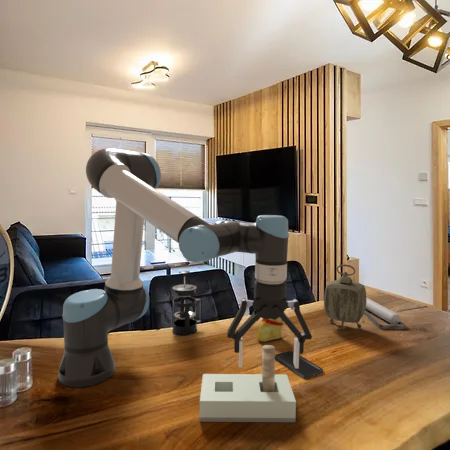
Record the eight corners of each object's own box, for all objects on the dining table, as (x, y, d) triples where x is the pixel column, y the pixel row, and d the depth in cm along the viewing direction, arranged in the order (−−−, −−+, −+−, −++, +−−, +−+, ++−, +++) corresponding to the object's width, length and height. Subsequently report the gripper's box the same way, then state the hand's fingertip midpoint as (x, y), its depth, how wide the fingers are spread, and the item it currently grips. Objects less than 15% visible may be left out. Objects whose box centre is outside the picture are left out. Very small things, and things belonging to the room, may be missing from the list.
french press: (172, 337, 128) (172, 275, 125) (168, 327, 136) (168, 269, 134) (204, 333, 131) (204, 272, 129) (198, 324, 140) (198, 267, 138)
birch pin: (262, 406, 85) (263, 350, 84) (261, 399, 88) (261, 345, 87) (275, 406, 85) (275, 350, 84) (273, 398, 88) (273, 344, 87)
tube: (405, 315, 140) (369, 296, 164) (394, 312, 139) (359, 294, 163) (401, 328, 140) (365, 307, 164) (390, 325, 139) (355, 305, 163)
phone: (291, 350, 116) (325, 370, 103) (291, 353, 116) (325, 374, 103) (272, 355, 112) (304, 377, 99) (272, 359, 113) (304, 380, 100)
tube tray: (380, 329, 137) (380, 325, 137) (352, 304, 167) (352, 301, 166) (406, 329, 137) (406, 325, 137) (373, 304, 167) (373, 301, 166)
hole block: (199, 421, 81) (199, 400, 81) (203, 392, 93) (203, 373, 93) (295, 422, 81) (295, 401, 81) (286, 392, 93) (286, 374, 93)
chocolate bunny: (287, 339, 127) (288, 298, 125) (261, 344, 123) (261, 302, 121) (277, 332, 133) (278, 293, 132) (251, 336, 129) (252, 296, 127)
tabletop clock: (365, 328, 138) (368, 265, 135) (360, 335, 130) (363, 269, 128) (328, 320, 145) (330, 260, 143) (321, 327, 138) (323, 264, 135)
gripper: (218, 283, 80) (216, 372, 82) (327, 285, 80) (323, 374, 82) (218, 275, 88) (217, 357, 90) (318, 277, 88) (315, 358, 90)
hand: (268, 365), depth 86 cm, fingers open, 13 cm apart
